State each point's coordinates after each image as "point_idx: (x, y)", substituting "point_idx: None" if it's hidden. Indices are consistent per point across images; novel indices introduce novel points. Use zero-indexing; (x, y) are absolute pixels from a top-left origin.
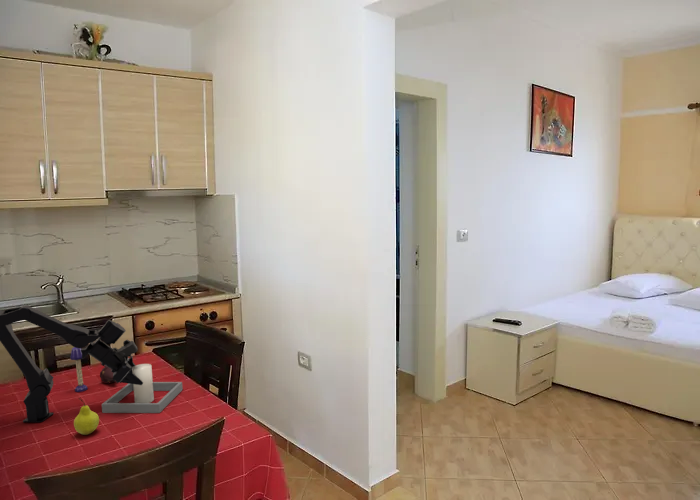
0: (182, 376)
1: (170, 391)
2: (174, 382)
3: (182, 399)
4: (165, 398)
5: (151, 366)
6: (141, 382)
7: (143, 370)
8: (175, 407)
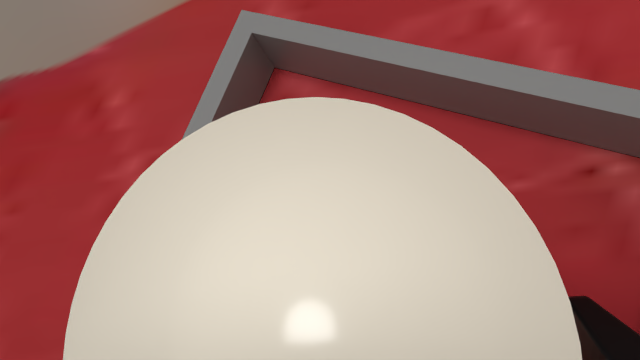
0: (40, 80)
1: (429, 63)
2: (226, 63)
3: (450, 22)
4: (599, 84)
5: (297, 106)
6: (607, 323)
7: (544, 276)
8: (609, 46)
